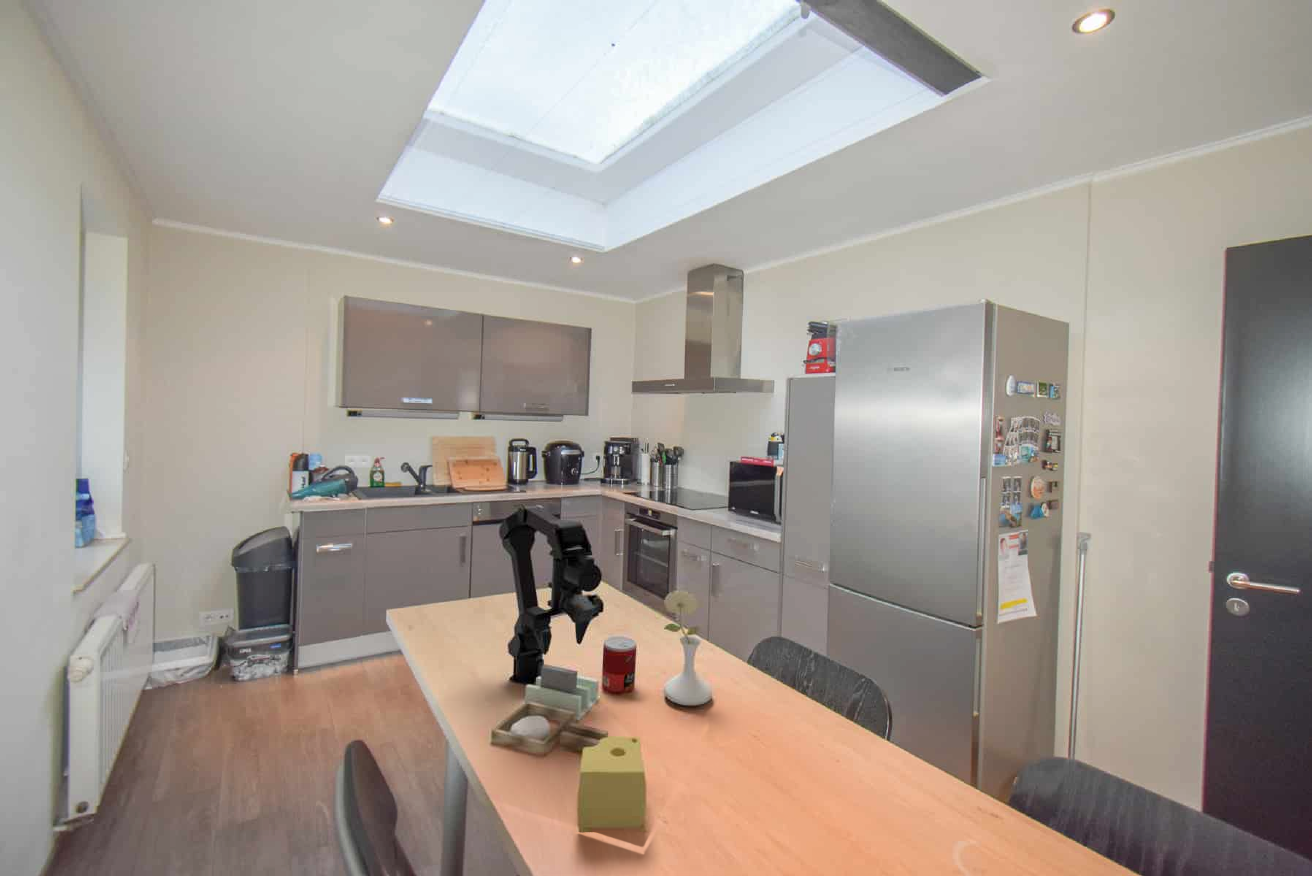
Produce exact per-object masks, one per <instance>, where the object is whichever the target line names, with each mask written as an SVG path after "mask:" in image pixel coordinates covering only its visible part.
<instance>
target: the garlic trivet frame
mask: <svg viewBox="0 0 1312 876" xmlns="http://www.w3.org/2000/svg"><path fill="white" fill-rule="evenodd" d="M522 704H523V705H522ZM522 704H521V705H522V706H519V707H518V708H517V709H516V710H514V711H513V712H512V713H511V714H510V715H509V716H507V717H506V718H505V719H503V720H502V721H501V722H500V723H499V724H498V725H496V726H495V727H494V728H492V729H491V739H490V740H491V742H492V743H495V744H498V745H502V746H506V747H508V748H514V749H517V750H519V751H520V750H521V751H524V752H527V753H531V754H534V755H538V756H541V757H544V756H545V755H546V754H547V753H549V751H550V750H551V749H552V748H553V747H554V746H555V745H556V744H557V743H558V742H560V734H561V733H562V732H563V731H565V732H569V725H570V724H571V723H572V722H573V723H576V720H575V716H576V713H575V712H571V711H567V710H563V709H559V708H554V707H550V706H546V705H542V704H538V703H534V702H530V701H527V702H525V701H524V702H523V703H522ZM527 715H530V716H542V717H544V718H545V719H546V720H547V719H548V720H551V721H555V722H559V724H558V725H557V726H556V727H554V729H553V730H551V732H550V734H549V735H548V736H547V737H546V738H545V739H542V740H536V739H533V738H529V737H525V736H521V735H518V734H514V733H510V729H511V727H512V725H513V724H514V723H516V722H518V721H519V720H521V719H522V718H525V717H527Z"/></svg>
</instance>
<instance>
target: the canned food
mask: <svg viewBox="0 0 1312 876" xmlns="http://www.w3.org/2000/svg"><path fill="white" fill-rule="evenodd" d="M636 661H637V642H636V640H634V639H632V638H631V637H626V636H620V635H619V636H611V637H608V638H606V639H604V641H603V649H602V667H601V669H602V670H601V686H602V689H603V690H604V691H605V692H606V693H609V694H611V695H626V694H629V693H631V692H632V691H633V690H634V687H635V683H636V667H637V665H636V664H637V662H636Z"/></svg>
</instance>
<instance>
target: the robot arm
mask: <svg viewBox="0 0 1312 876" xmlns="http://www.w3.org/2000/svg"><path fill="white" fill-rule="evenodd" d="M537 532H539V533H541V534H542V535H544V536H545V537H546V544H548V545H549V546H550V548H551V550H550V551H549V556H551V557H552V571H551V572H552V573H551V576H552V577H551V581H550V582H547V584H548V586H547V587H548V588H550V589H551V595H550V596H551V597H550V599H549V600H547V606H548V607H550V608H548V609H544V608H543V607H539V600H538V594H537V587H536V580H535V574H534V573H535V572H534V568H533V561H532V560H533V559H532V553H531V551H532V549H533V546H534V545H535V542H536V534H537ZM498 534H499V538H500V539H501V544H502V547H503V549H504V550H505V551H506V552H507V554H508V555H509V556H510V559H511V566H512V573H513V581H514V587H515V595H516V602H517V609H518V617H517V619H516V621H515V624H514V627H513V629H514V630H513V631H514V634H513V636H512V638H511V640H509V642H508V643H507V650H508V651H507V653H508V654H509V655H510V657H512V658H513V666H512V667H513V669H512V675H511V676H510V677H509V679H508V681H512V682H516V683H519V684H525V685H528V684H531V685H535V684H536V678H537V677H539V676H540V677H541V667H542V666H544V665H545V660H544V659H543V657H544V655H545V656H546V655H547V653H548V652H549V649H550V646H551V642H552V639H553V636H552V631H551V630H552V626H550V624H551V622H552V619H554V618H557V617H561V616H565V615H567V616H568V617H569V618H570V620H571V622H572V623H574V625H575V626H574V628H575V629H574V630H575V639H576V641H575V642H576V644H578V645H582V642H583V639H584V637H585V634H586V632H587V630H588V627H589V625H590V623H591V621H592V620H594V619H595V618H596V617H599V616H600V614H601V613H603V612H604V610H605V608H604V607H605V604H604V601H603V600H602V598H601V597H600V596H599V595H598V594H597V593H594V594H590V593H591V592H592V591H595V590H596V589H597V588H598V587H599V586H600V584H601V582H602V578H603V573H602V571H601V568H600V567H599V566H598V565H597V564H595V558H593V557H589V556H593V551H592V545H591V541H590V540H589V538H588V535H587V531H586V529H585V527H584V526H583V524H582V523H581V522H580V521H576V520H564V519H561V518H558V517H556V516H555V515H553V514H551V513H549V512H548V511H546V510H544V509H542V508H541V506H538V505H536V504H535V505H522V506H520V507H519V508H518V509H517V510H516V511H515V512H514V513H512V514H510V515H509V516H507V517H506V518H505V519H504V520H503V521H502V523H501V524H500V526H499V530H498ZM583 592H585V593H586V592H587V593H589V592H590V593H589V594H583Z"/></svg>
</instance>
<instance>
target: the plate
mask: <svg viewBox="0 0 1312 876" xmlns="http://www.w3.org/2000/svg"><path fill="white" fill-rule="evenodd" d="M577 675H578V671H577V670H574V669H573V670H572V669H569V668H565V667H561V666H555V665H551V664H545V663H544V666H542V667H541V687H544V688H548V689H552V690H557V691H561V692H565V693H570V694H574V695H576V689H577Z"/></svg>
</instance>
